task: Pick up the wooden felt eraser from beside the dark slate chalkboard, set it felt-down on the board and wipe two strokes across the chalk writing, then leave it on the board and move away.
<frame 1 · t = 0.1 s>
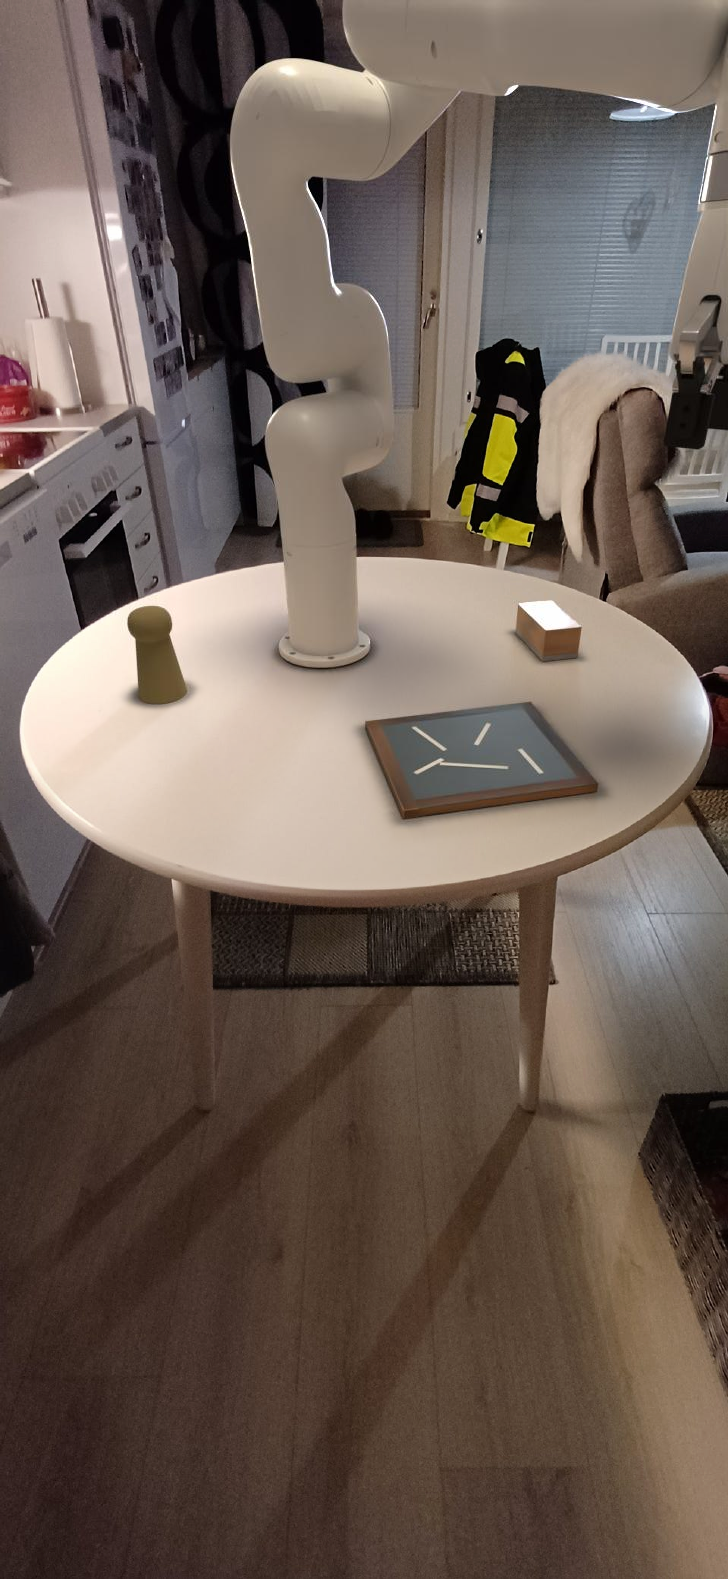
hand: (703, 437, 66), 31 cm above the table, tool pointing down, fingers open, 9 cm apart
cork: (163, 694, 98), on the table
eraser: (545, 645, 107), on the table
chalkboard: (473, 758, 83), on the table
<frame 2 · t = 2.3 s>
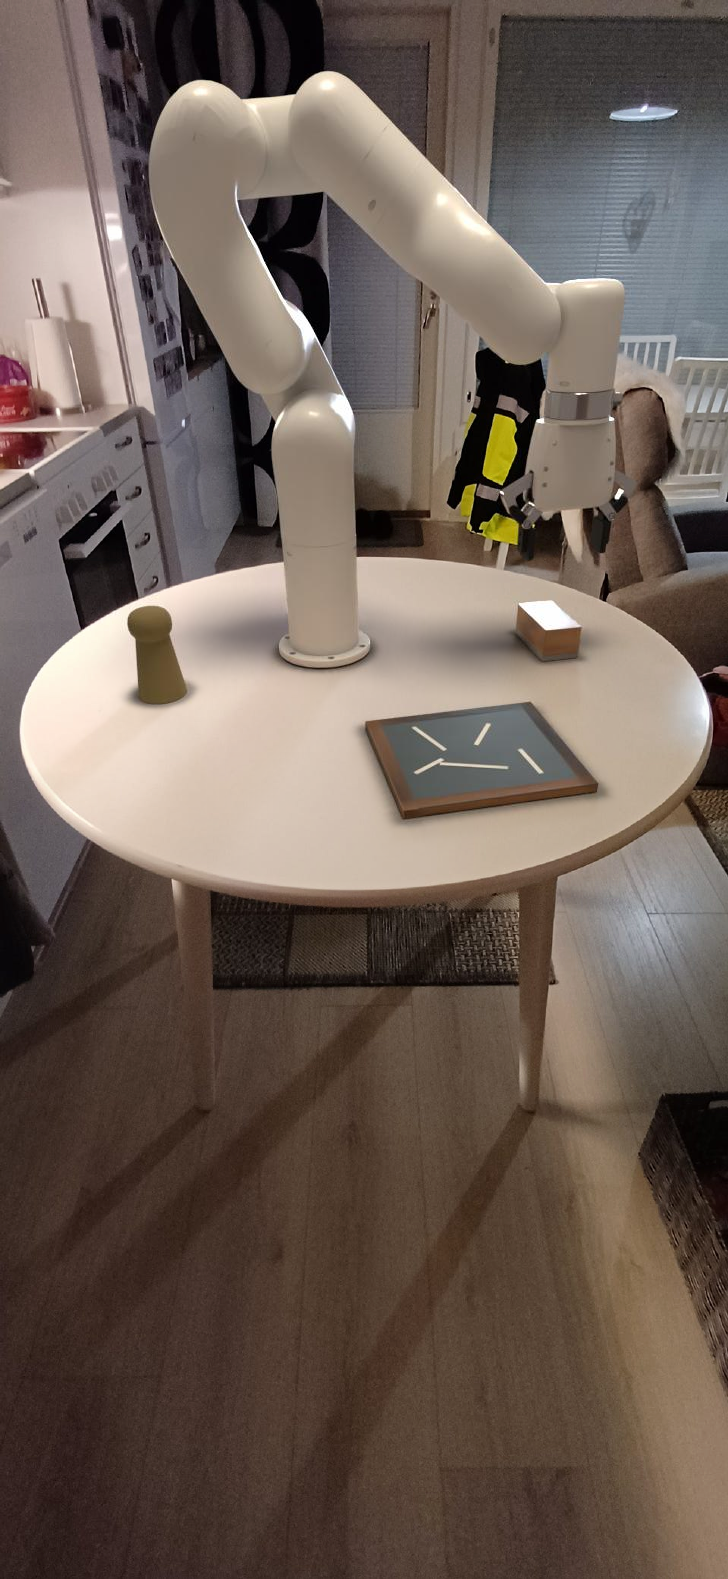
hand: (561, 553, 99), 13 cm above the table, tool pointing down, fingers open, 9 cm apart
nothing on the table moved.
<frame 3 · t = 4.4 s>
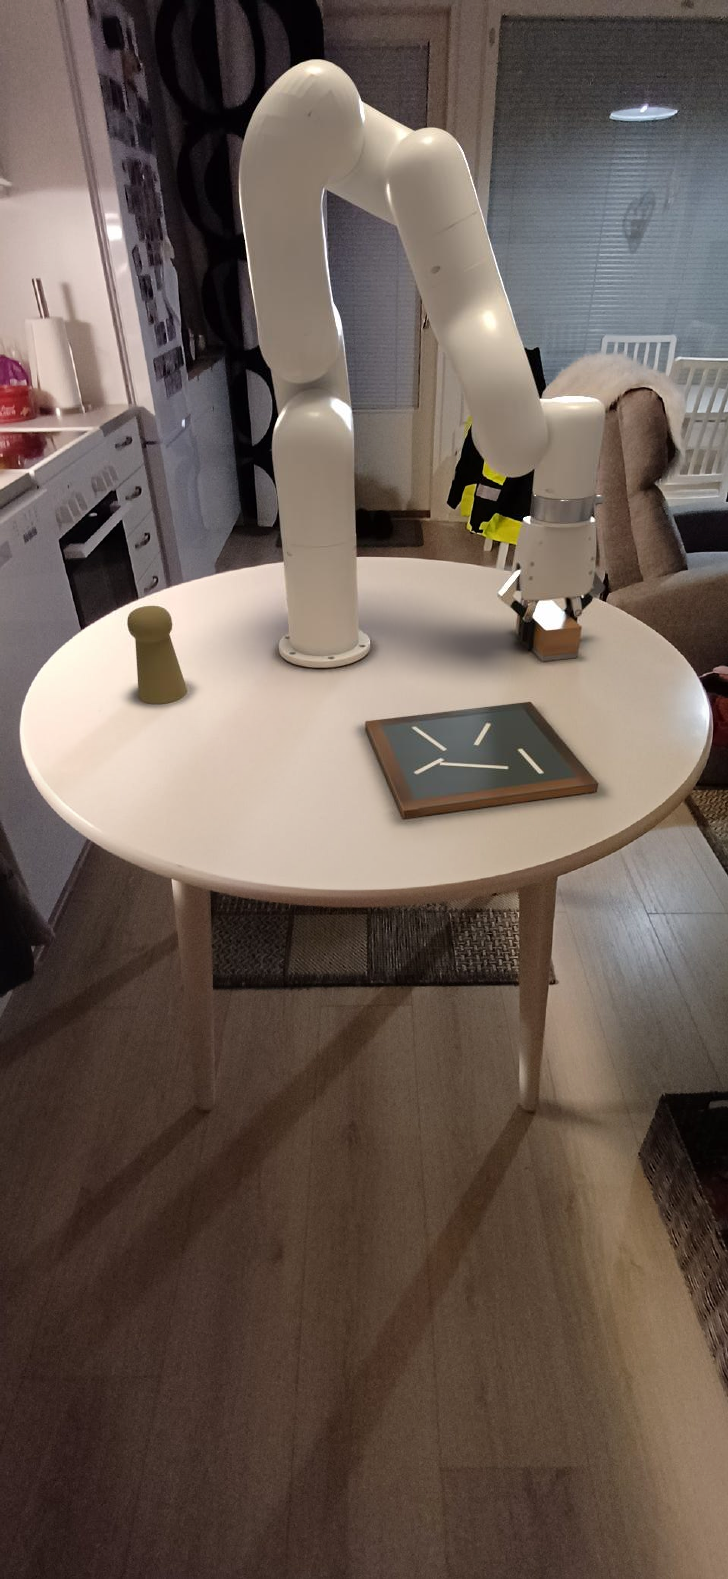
hand: (545, 642, 107), 0 cm above the table, tool pointing down, fingers closed on eraser, 5 cm apart
eraser: (545, 645, 107), on the table, touching gripper
everything else where it was.
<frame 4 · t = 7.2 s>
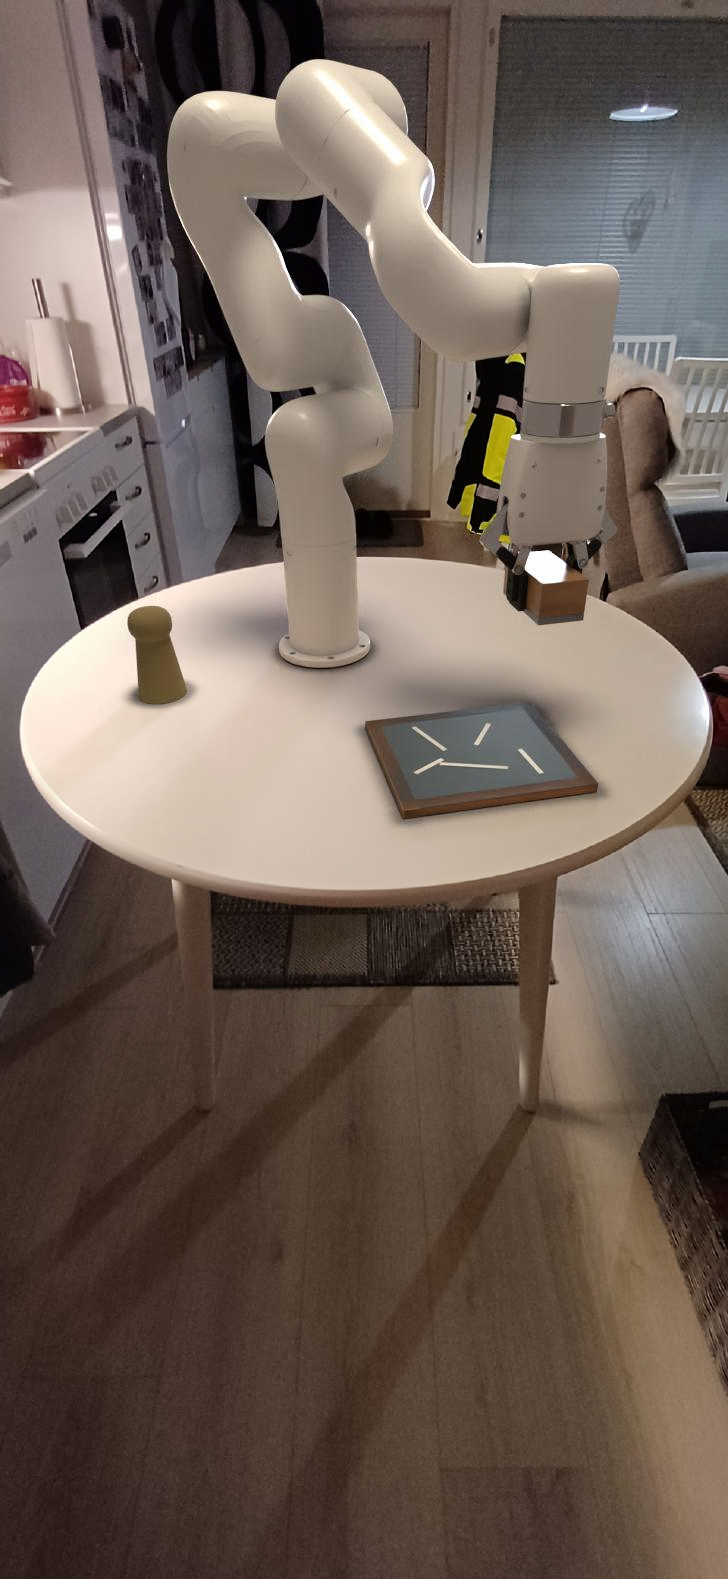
hand: (541, 602, 84), 14 cm above the table, tool pointing down, fingers closed on eraser, 5 cm apart
eraser: (541, 606, 84), point 13 cm above the table, touching gripper
everything else where it was.
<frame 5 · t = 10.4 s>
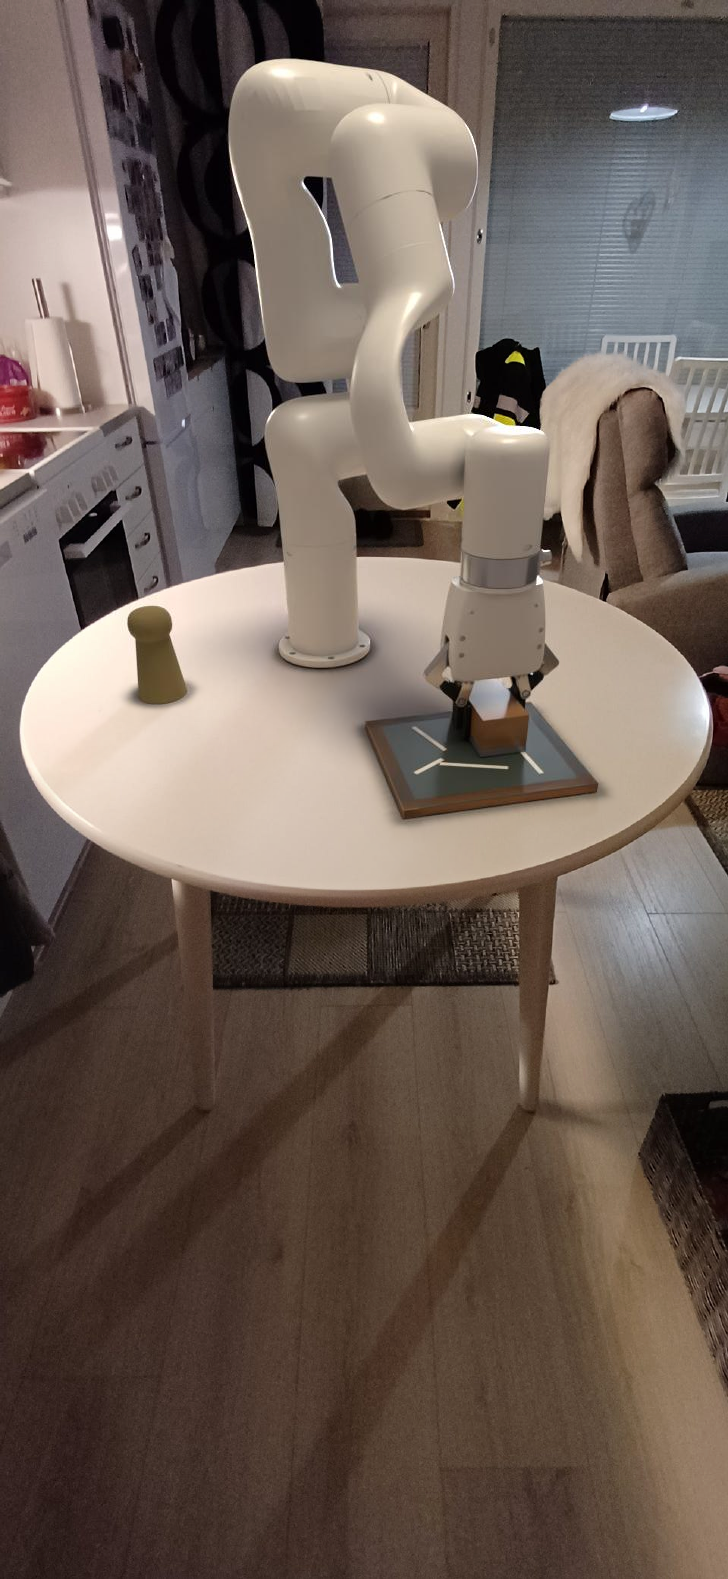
hand: (487, 728, 85), 1 cm above the table, tool pointing down, fingers closed on eraser, 5 cm apart
eraser: (487, 731, 86), point 1 cm above the table, touching gripper
everything else where it was.
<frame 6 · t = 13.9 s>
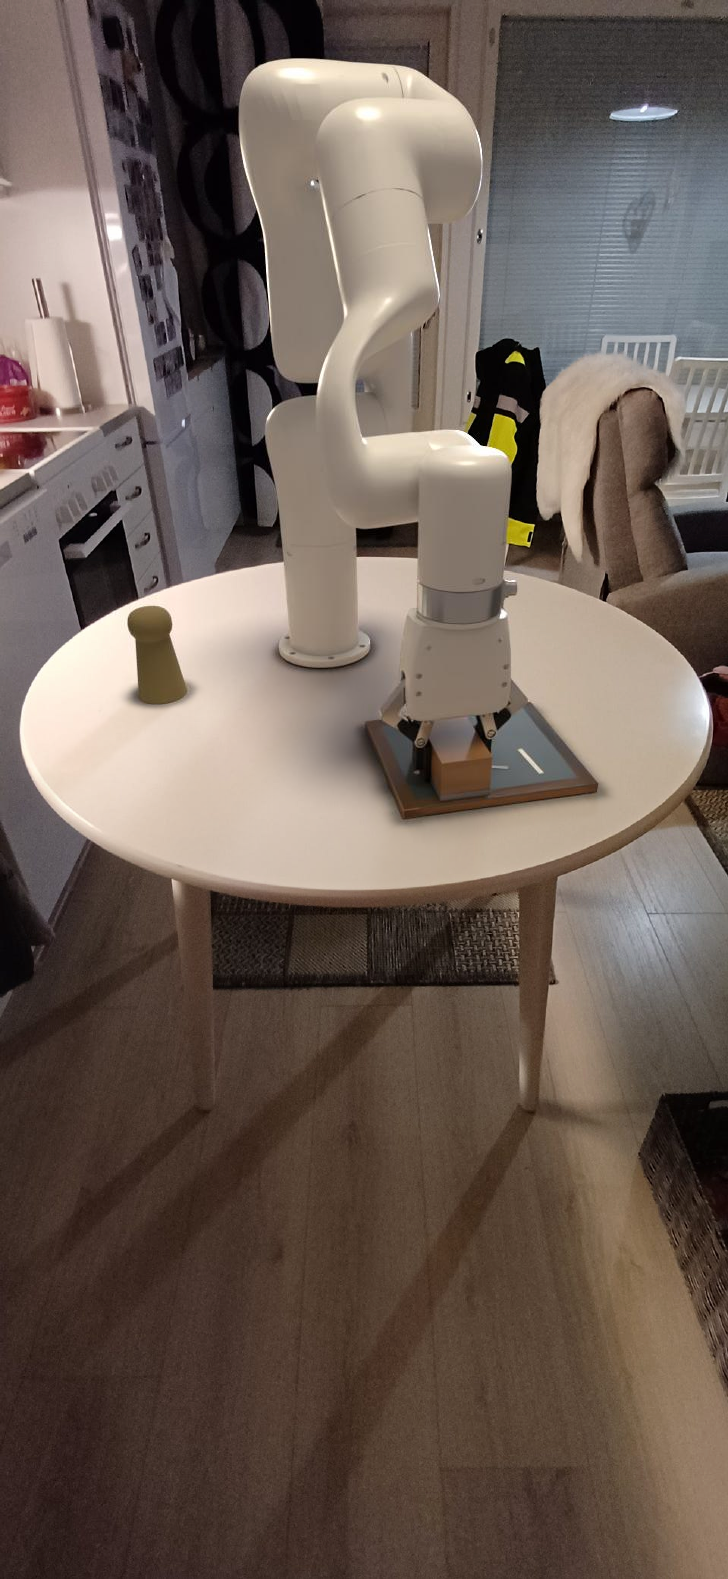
hand: (450, 768, 79), 1 cm above the table, tool pointing down, fingers closed on eraser, 5 cm apart
eraser: (450, 771, 79), point 1 cm above the table, touching gripper
everything else where it was.
when the fingers open (1 cm above the table, at t = 16.4 s): eraser stays where it is, resting on chalkboard.
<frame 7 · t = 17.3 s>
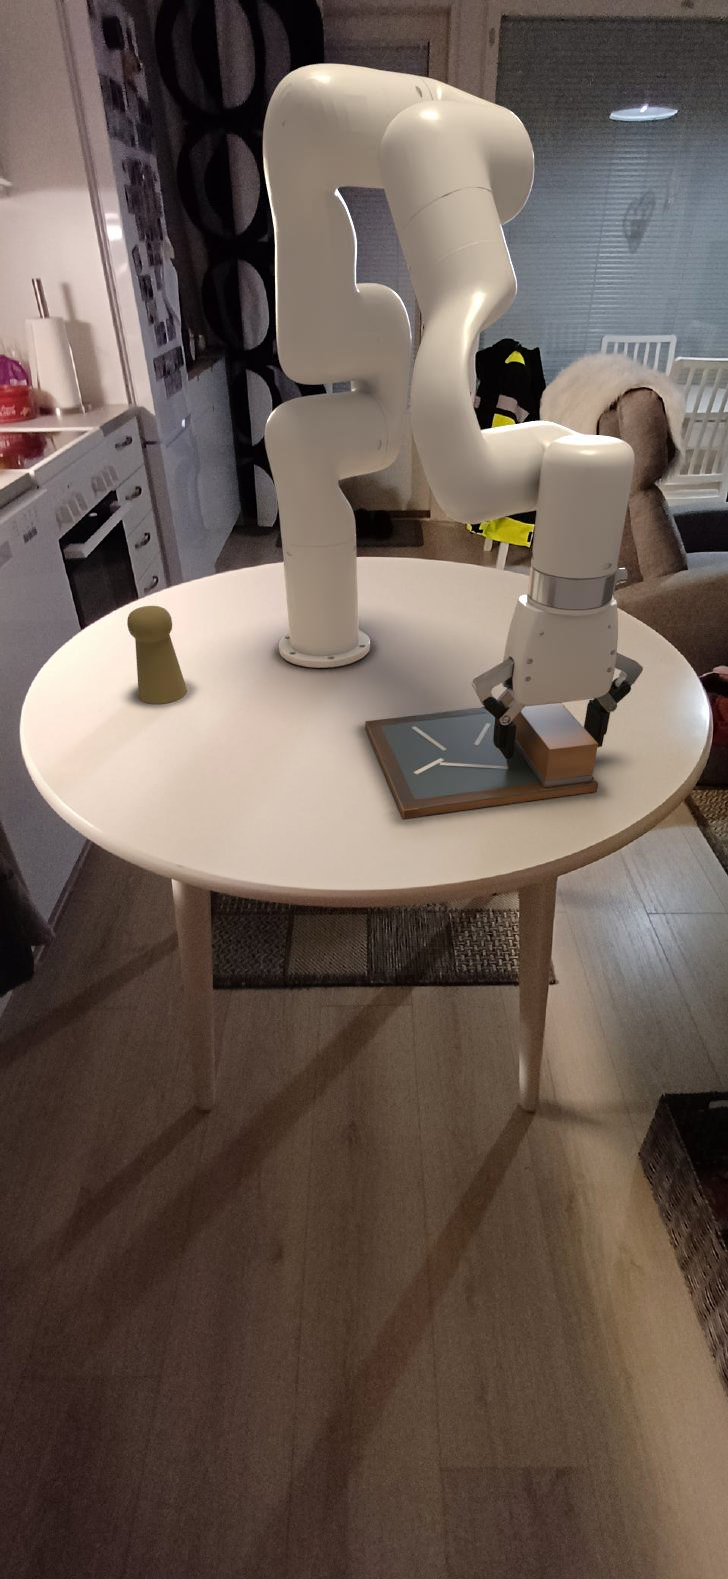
hand: (548, 746, 80), 2 cm above the table, tool pointing down, fingers open, 9 cm apart
eraser: (548, 758, 81), point 1 cm above the table, touching chalkboard
everything else where it was.
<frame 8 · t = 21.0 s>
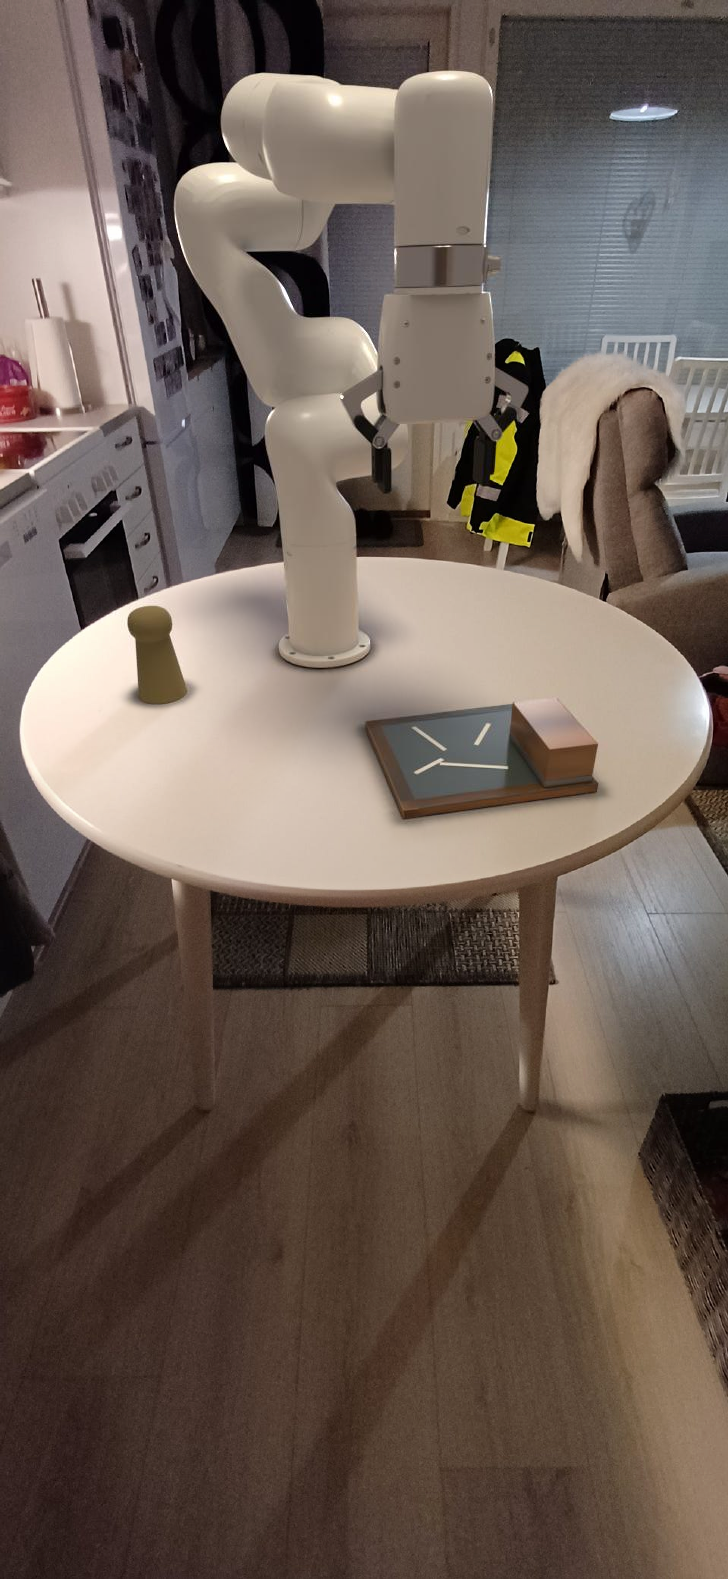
hand: (433, 487, 74), 26 cm above the table, tool pointing down, fingers open, 9 cm apart
nothing on the table moved.
at the end: eraser inside the target area on the chalkboard (7.8 cm from its centre), point 1.0 cm above the chalkboard's base; eraser moved 31.9 cm from its start; the gripper is holding nothing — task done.
